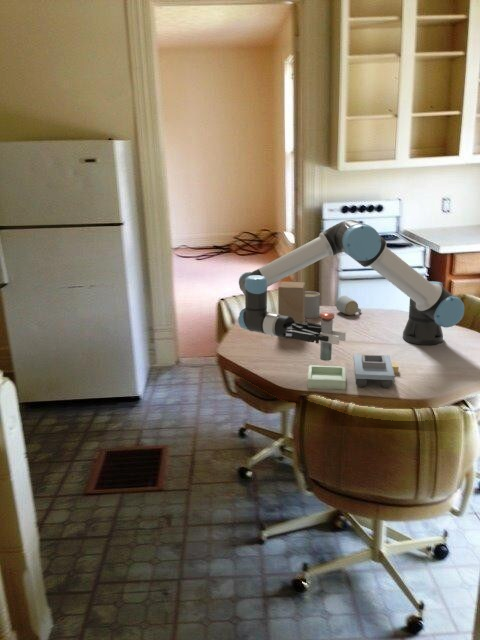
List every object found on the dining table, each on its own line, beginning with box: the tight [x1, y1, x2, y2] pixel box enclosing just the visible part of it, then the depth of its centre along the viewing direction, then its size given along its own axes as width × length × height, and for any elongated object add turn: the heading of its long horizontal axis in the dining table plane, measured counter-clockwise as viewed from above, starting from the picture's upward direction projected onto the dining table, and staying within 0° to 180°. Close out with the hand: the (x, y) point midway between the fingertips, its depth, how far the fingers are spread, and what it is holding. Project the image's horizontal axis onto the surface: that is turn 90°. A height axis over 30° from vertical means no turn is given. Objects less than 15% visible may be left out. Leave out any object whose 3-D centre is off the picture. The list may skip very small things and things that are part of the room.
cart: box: [353, 353, 399, 389], centre depth 186 cm, size 15×18×7 cm
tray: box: [307, 364, 347, 391], centre depth 186 cm, size 12×12×3 cm
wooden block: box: [277, 281, 306, 324], centre depth 234 cm, size 10×10×20 cm
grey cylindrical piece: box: [305, 290, 321, 319], centre depth 258 cm, size 13×10×10 cm
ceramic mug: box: [335, 295, 362, 316], centre depth 258 cm, size 11×8×8 cm
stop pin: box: [319, 311, 335, 362], centre depth 182 cm, size 5×5×15 cm
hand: (341, 338), depth 178 cm, fingers closed on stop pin, 3 cm apart
